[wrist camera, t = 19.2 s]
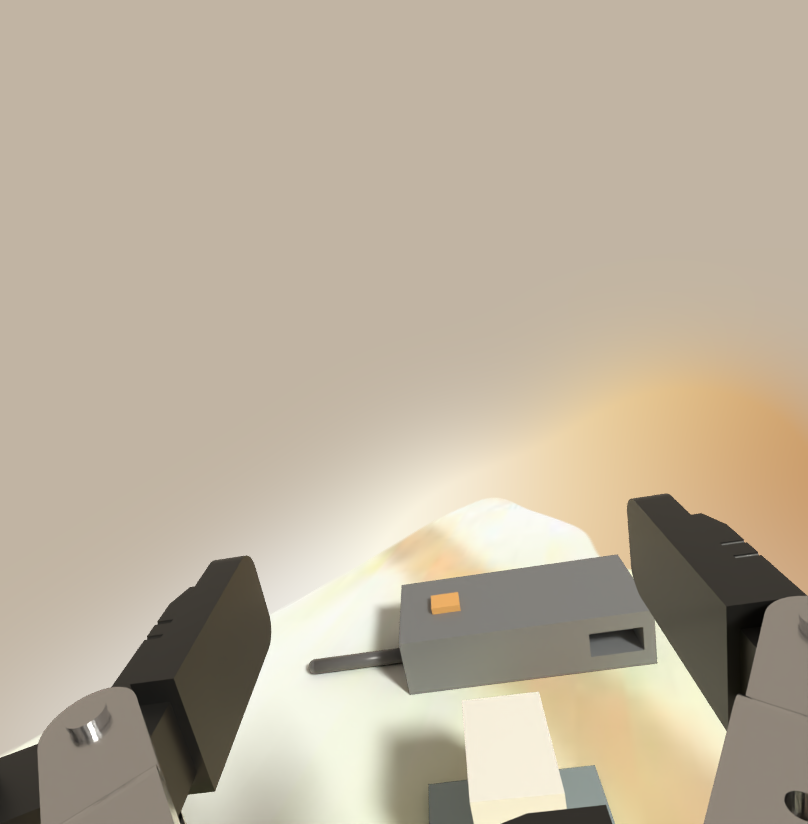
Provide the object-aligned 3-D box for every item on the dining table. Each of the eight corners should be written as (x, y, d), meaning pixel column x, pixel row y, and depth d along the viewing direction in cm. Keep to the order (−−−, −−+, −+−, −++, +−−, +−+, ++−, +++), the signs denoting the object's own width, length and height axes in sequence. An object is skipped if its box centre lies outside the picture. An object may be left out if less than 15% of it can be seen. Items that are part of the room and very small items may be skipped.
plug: (495, 933, 28) (469, 802, 25) (478, 771, 36) (458, 662, 34) (581, 926, 27) (564, 793, 25) (544, 764, 36) (529, 653, 34)
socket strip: (301, 708, 45) (285, 653, 44) (318, 642, 53) (305, 593, 51) (657, 663, 43) (653, 603, 42) (621, 601, 51) (616, 548, 49)
